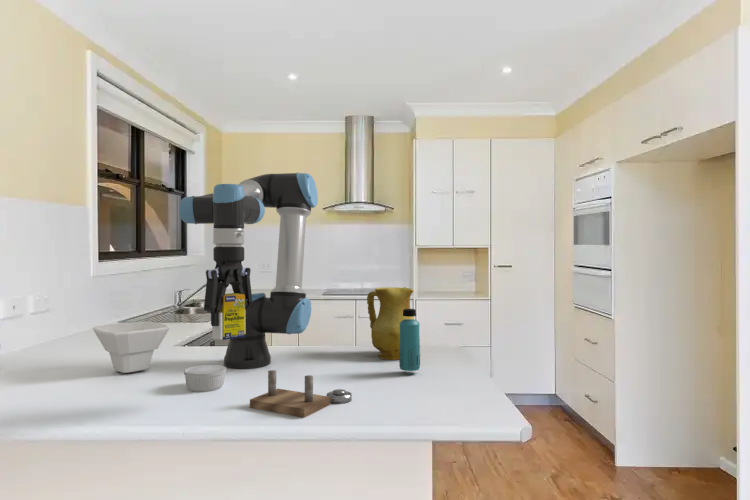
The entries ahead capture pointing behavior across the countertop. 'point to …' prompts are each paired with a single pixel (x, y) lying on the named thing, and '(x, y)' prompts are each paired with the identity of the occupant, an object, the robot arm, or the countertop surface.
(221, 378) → the ramekin
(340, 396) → the metal knobbed disc
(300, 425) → the countertop surface
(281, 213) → the robot arm
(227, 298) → the supplement box
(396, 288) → the pitcher
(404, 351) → the beverage bottle
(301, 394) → the peg rack
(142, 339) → the bowl
